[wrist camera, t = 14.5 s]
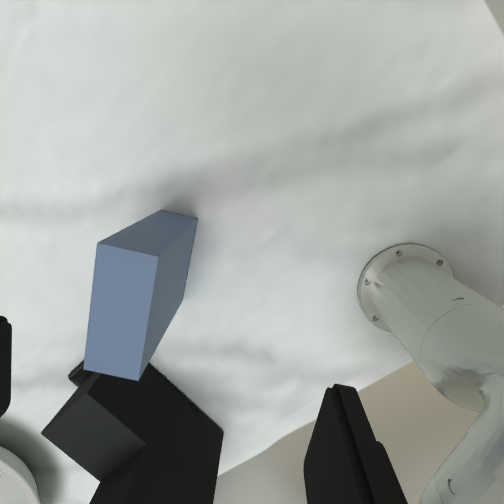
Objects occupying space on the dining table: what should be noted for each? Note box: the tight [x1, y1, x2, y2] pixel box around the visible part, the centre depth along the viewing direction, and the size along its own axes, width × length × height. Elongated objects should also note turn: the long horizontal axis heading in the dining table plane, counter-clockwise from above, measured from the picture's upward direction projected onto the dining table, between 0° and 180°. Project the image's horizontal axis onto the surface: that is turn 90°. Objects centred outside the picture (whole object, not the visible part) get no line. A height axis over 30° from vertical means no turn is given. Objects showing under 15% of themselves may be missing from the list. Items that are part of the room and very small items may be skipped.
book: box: [83, 210, 198, 381], centre depth 38 cm, size 12×5×18 cm, turn 167°
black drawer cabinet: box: [41, 360, 224, 504], centre depth 41 cm, size 23×11×24 cm, turn 42°
